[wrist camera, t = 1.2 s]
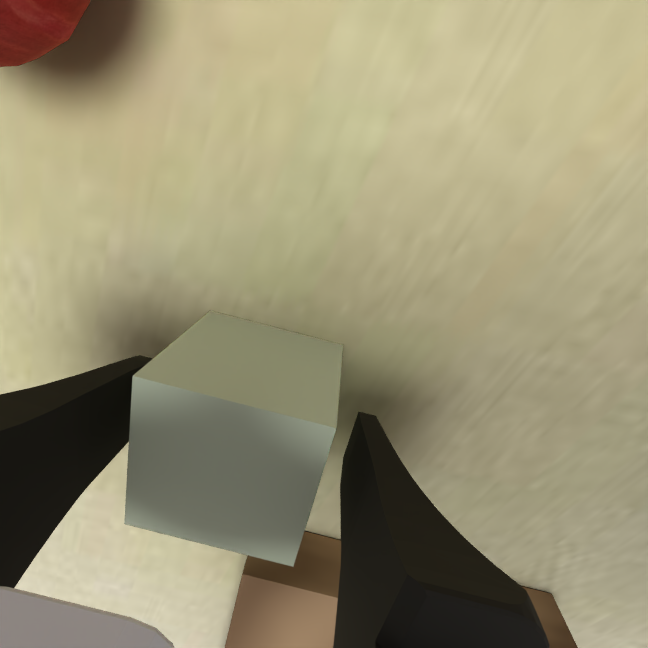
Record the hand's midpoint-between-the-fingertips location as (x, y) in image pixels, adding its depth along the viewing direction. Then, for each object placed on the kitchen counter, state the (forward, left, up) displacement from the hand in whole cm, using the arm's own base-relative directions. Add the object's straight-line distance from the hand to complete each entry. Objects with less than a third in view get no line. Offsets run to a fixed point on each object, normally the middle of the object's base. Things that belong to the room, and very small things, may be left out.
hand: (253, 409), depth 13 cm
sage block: (0, 0, -2) cm, 2 cm away
